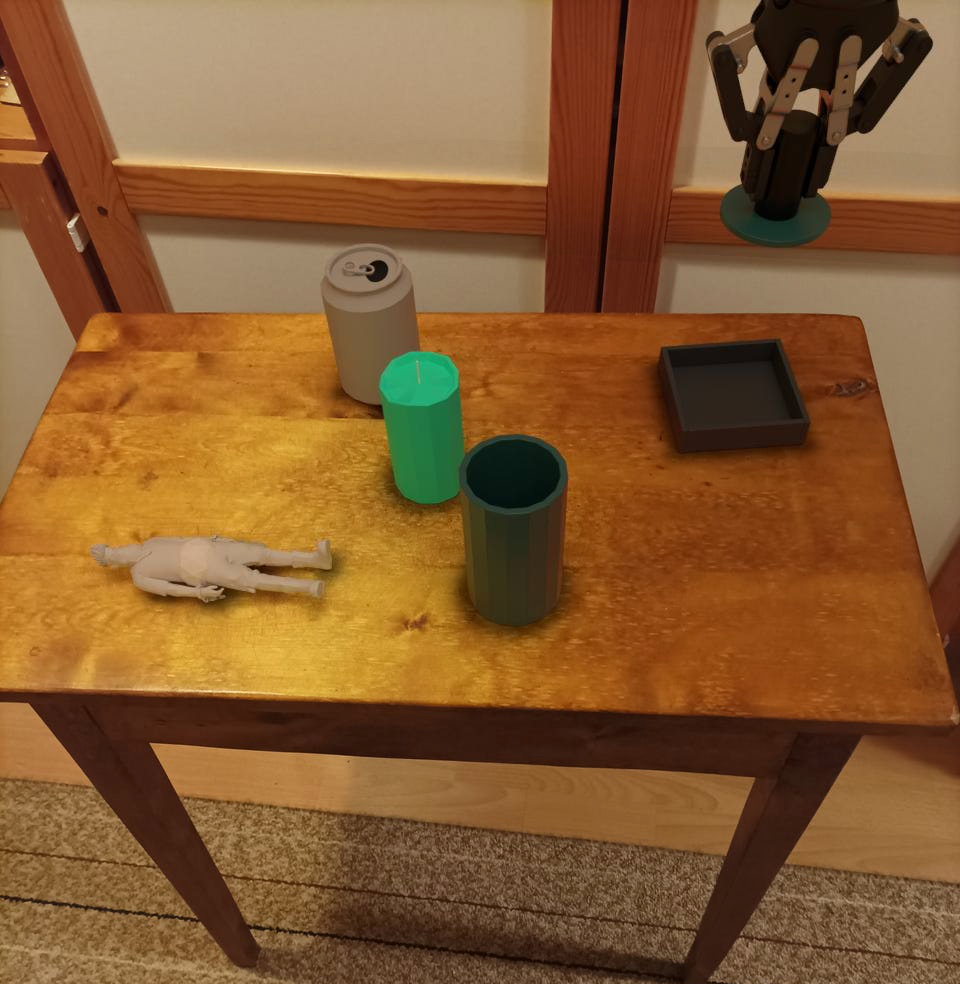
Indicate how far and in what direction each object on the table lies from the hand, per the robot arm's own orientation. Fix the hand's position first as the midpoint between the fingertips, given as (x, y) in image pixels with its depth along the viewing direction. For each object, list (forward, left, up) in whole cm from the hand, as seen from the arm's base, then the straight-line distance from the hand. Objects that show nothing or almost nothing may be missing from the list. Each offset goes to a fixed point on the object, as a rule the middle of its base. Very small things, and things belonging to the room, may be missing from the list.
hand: (780, 192), depth 63 cm
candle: (+26, +6, -20) cm, 33 cm away
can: (+30, -6, -20) cm, 36 cm away
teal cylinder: (+20, +18, -19) cm, 33 cm away
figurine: (+43, +15, -20) cm, 49 cm away
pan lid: (0, 0, -2) cm, 2 cm away
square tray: (0, 0, -19) cm, 19 cm away
